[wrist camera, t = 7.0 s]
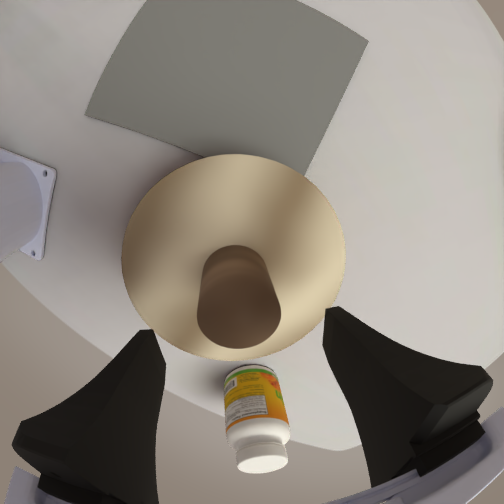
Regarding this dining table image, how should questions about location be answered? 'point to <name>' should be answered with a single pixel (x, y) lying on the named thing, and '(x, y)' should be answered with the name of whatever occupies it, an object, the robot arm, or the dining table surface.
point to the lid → (233, 257)
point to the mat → (230, 77)
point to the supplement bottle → (256, 419)
